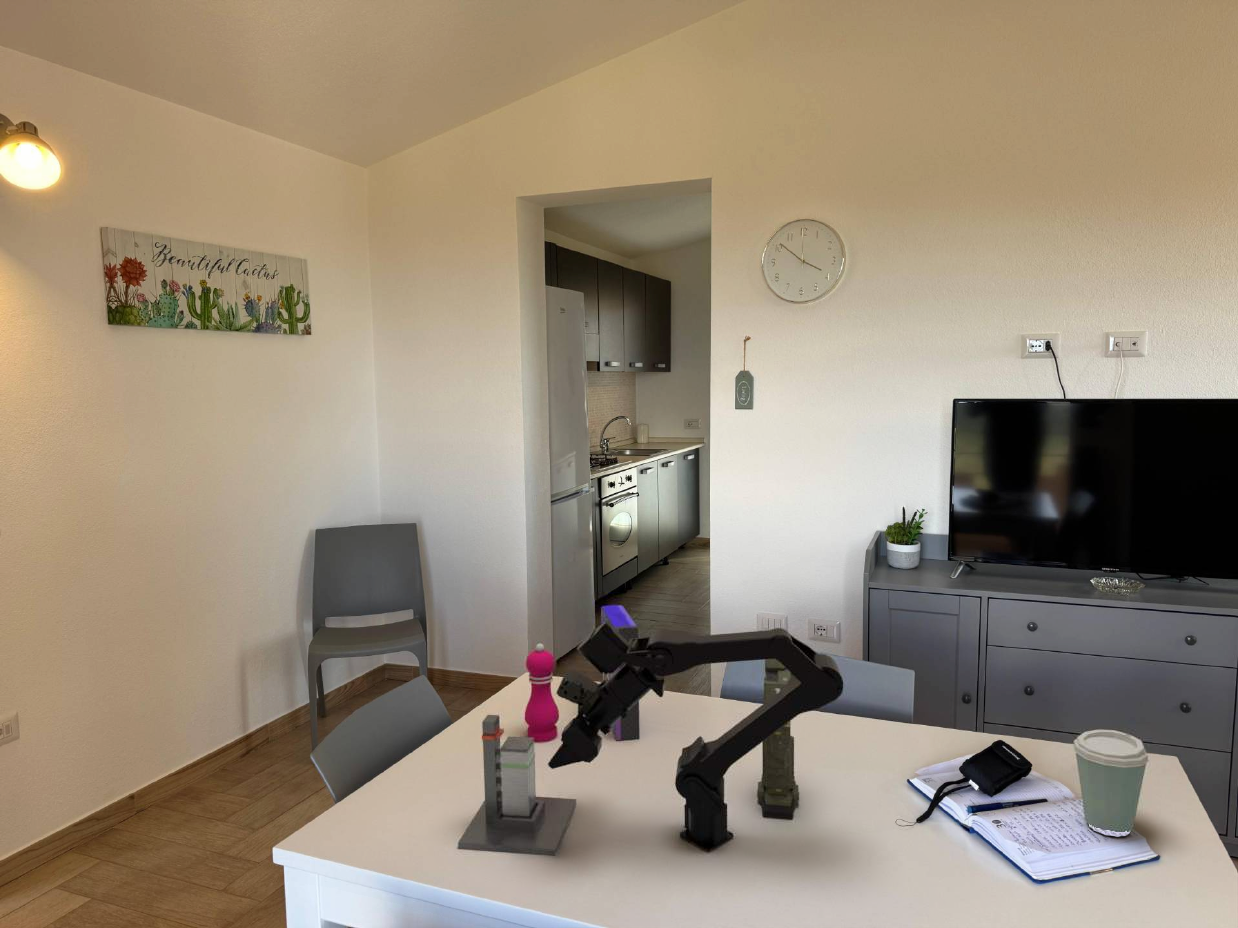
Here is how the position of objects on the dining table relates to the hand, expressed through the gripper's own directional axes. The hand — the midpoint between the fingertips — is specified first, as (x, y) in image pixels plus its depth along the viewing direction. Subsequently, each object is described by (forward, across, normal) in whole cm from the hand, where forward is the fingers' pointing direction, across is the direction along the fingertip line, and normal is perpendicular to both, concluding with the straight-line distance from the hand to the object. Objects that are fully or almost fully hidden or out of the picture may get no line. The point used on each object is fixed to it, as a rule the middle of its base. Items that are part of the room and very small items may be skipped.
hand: (556, 753), depth 139 cm
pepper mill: (+18, -35, +1) cm, 39 cm away
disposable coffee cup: (-54, -12, +72) cm, 91 cm away
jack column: (+13, 0, +3) cm, 13 cm away
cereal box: (+7, -43, +12) cm, 45 cm away
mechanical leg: (-17, -14, +35) cm, 41 cm away
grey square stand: (+14, 0, +4) cm, 15 cm away
